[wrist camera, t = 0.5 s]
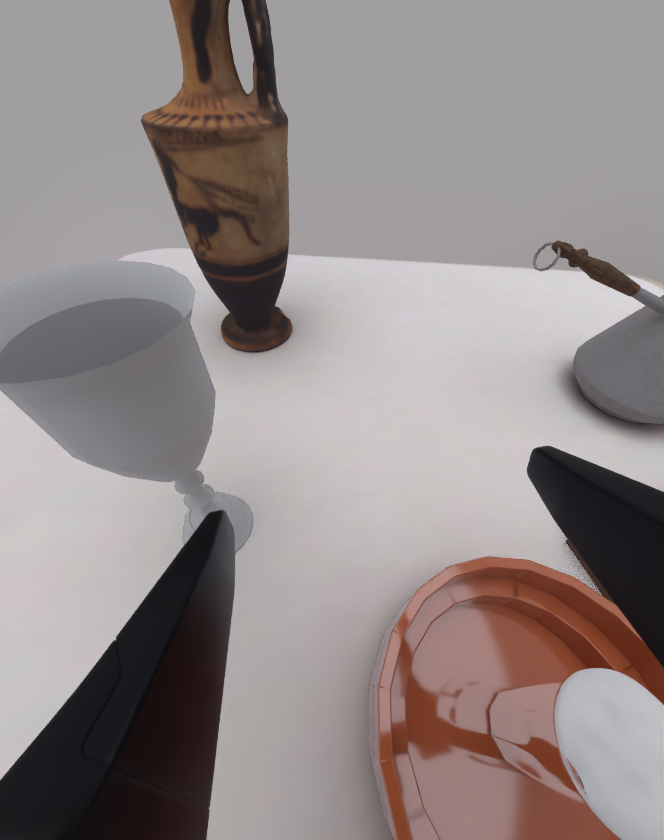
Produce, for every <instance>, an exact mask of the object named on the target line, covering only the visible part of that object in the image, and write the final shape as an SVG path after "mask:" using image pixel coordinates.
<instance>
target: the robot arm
mask: <svg viewBox="0 0 664 840" xmlns="http://www.w3.org/2000/svg"><path fill="white" fill-rule="evenodd" d="M527 474H528V476H529V478H530V480H531V482H532V483H533V485H534V487H535V488H536V490H537V492H538V493H539V495H540V497H541V499H542V500H543V502H544V504H545V505H546V507H547V509H548V510H549V512H550V514H551V515H552V517H553V519H554V520H555V522H556V523H557V525H558V526H559V527H560V529H561V530H562V532H563V533H564V534H565V536H566V537H567V538H568V540H569V541H570V543H571V544H572V545H573V547H574V548H575V549H576V551H577V552H578V553H579V555H580V556H581V558H582V559H583V560H584V562H585V563H586V564H587V566H588V567H589V568H590V570H591V571H592V572H593V574H594V575H595V577H596V578H597V579H598V581H599V582H600V583H601V585H602V586H603V587H604V589H605V590H606V592H607V593H608V594H609V596H610V597H611V598H612V600H613V601H614V602H615V604H616V605H617V606H618V608H619V609H620V611H621V612H622V613H623V615H624V616H625V617H626V619H627V620H628V621H629V623H630V624H631V626H632V627H633V628H634V630H635V631H636V632H637V634H638V635H639V636H640V638H641V639H642V640H643V642H644V643H645V645H646V646H647V647H648V649H649V650H650V651H651V653H652V654H653V655H654V657H655V658H656V660H657V661H658V662H659V664H660V665H661V666H662V668H663V669H664V492H662V491H660V490H657V489H655V488H652V487H650V486H647V485H645V484H643V483H640V482H638V481H635V480H633V479H630V478H628V477H625V476H623V475H620V474H618V473H615V472H613V471H610V470H608V469H605V468H603V467H601V466H598V465H596V464H593V463H591V462H588V461H586V460H583V459H581V458H578V457H576V456H573V455H571V454H568V453H566V452H563V451H561V450H559V449H556V448H554V447H551V446H543V447H538V448H535V449H533V451H532V453H531V456H530V460H529V463H528V467H527ZM234 587H235V533H234V528H233V526H232V524H231V522H230V519H229V517H228V515H227V513H226V511H225V510H217V511H212V512H209V513H208V514H207V515H206V517H205V518H204V519H203V521H202V522H201V523H200V525H199V526H198V527H197V529H196V530H195V532H194V533H193V534H192V536H191V537H190V538H189V540H188V541H187V542H186V544H185V545H184V546H183V548H182V549H181V550H180V552H179V553H178V554H177V556H176V557H175V559H174V560H173V561H172V563H171V564H170V565H169V567H168V568H167V569H166V571H165V572H164V573H163V575H162V576H161V577H160V579H159V580H158V581H157V583H156V584H155V585H154V587H153V588H152V590H151V591H150V592H149V594H148V595H147V596H146V598H145V599H144V600H143V602H142V603H141V604H140V606H139V607H138V608H137V610H136V611H135V612H134V614H133V615H132V616H131V618H130V619H129V621H128V622H127V623H126V625H125V626H124V627H123V629H122V630H121V631H120V633H119V634H118V635H117V637H116V640H114V641H113V642H112V643H111V645H110V646H109V647H108V649H107V650H106V651H105V653H104V654H103V655H102V657H101V658H100V659H99V661H98V662H97V663H96V665H95V666H94V667H93V669H92V670H91V671H90V672H89V674H88V675H87V676H86V678H85V679H84V680H83V682H82V683H81V684H80V685H79V687H78V688H77V689H76V690H75V692H74V693H73V694H72V695H71V696H70V698H69V699H68V700H67V701H66V703H65V704H64V705H63V706H62V707H61V709H60V710H59V711H58V712H57V714H56V715H55V716H54V717H53V718H52V720H51V721H50V722H49V723H48V724H47V725H46V727H45V728H44V729H43V730H42V731H41V733H40V734H39V735H38V736H37V737H36V738H35V740H34V741H33V742H32V743H31V744H30V746H29V747H28V748H27V749H26V750H25V752H24V753H23V754H22V755H21V756H20V757H19V759H18V760H17V761H16V762H15V763H14V765H13V766H12V767H11V768H10V769H9V771H8V772H7V773H6V774H5V775H4V776H3V778H2V779H1V780H0V840H206V837H207V828H208V820H209V809H208V808H209V807H210V800H211V792H212V783H213V774H214V765H215V757H216V748H217V739H218V731H219V722H220V713H221V704H222V696H223V687H224V678H225V669H226V661H227V652H228V643H229V634H230V626H231V617H232V608H233V599H234Z"/></svg>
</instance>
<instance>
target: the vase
mask: <svg viewBox="0 0 664 840" xmlns="http://www.w3.org/2000/svg"><path fill="white" fill-rule="evenodd" d="M169 1H170V5H171V9H172V13H173V17H174V21H175V24H176V29H177V34H178V39H179V44H180V48H181V55H182V61H183V84H182V88H181V90H180V91H179V93H178V94H177V95H176V97H174V98H173V99H172V100H171V101H170V102H169V103H168V104H167V105H165V106H163V107H161V108H159V109H156V110H153V111H150V112H148V113H146V114H144V115H143V116H142V119H141V121H142V125H143V127H144V129H145V132H146V134H147V136H148V139H149V141H150V143H151V146H152V148H153V150H154V152H155V155H156V157H157V160H158V163H159V166H160V168H161V171H162V173H163V176H164V179H165V182H166V184H167V187H168V189H169V193H170V195H171V198H172V200H173V203H174V206H175V208H176V211H177V214H178V216H179V219H180V222H181V224H182V227H183V230H184V232H185V235H186V238H187V240H188V243H189V245H190V247H191V250H192V252H193V254H194V256H195V259H196V261H197V263H198V265H199V267H200V269H201V270H202V272H203V275H204V276H205V278H206V280H207V282H208V283H209V285H210V286H211V288H212V289H213V290H214V292H215V293H216V295H217V296H218V297H219V299H220V300H221V301H222V303H223V304H224V305H225V306H226V308H227V309H228V310H229V312H230V313H229V314H228V315H227V316H226V317H225V318H224V320H223V322H222V325H221V332H222V337H223V339H224V340H225V341H226V342H227V343H229V344H230V345H231V346H232V347H234V348H236V349H239V350H242V351H250V352H254V351H264V350H268V349H271V348H273V347H275V346H278V345H280V344H281V343H283V342H284V341H285V340H286V339H287V338H288V337H289V336H290V333H291V331H292V324H291V321H290V319H289V318H287V317H286V316H285V315H284V313H283V312H282V311H281V309H280V308H278V307H276V306H275V303H276V300H277V298H278V295H279V292H280V289H281V286H282V283H283V279H284V276H285V271H286V265H287V257H288V244H289V196H288V195H289V189H288V163H287V139H288V118H287V115H286V114H285V112H284V110H283V109H282V107H281V105H280V102H279V100H278V95H277V88H276V76H275V67H274V52H273V44H272V38H271V27H270V20H269V15H268V9H267V5H266V0H242V3H243V7H244V13H245V17H246V21H247V26H248V31H249V35H250V40H251V44H252V49H253V55H254V63H253V83H254V84H253V85H254V87H253V90H252V92H251V93H250V94H246V93H245V91H244V89H243V87H242V85H241V82H240V80H239V77H238V74H237V71H236V67H235V64H234V60H233V54H232V49H231V43H230V36H229V25H228V7H229V2H230V0H169Z"/></svg>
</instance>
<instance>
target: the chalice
mask: <svg viewBox="0 0 664 840" xmlns="http://www.w3.org/2000/svg"><path fill="white" fill-rule="evenodd" d="M194 296H195V290H194V288H193V286H192V285H191V283H190V281H189V280H188V278H187V277H186V276H184V275H182V274H180V273H178V272H177V271H175V270H173V269H171V268H169V267H164V266H160V265H156V264H151V263H147V262H128V261H112V262H99V263H87V264H82V265H77V266H71V267H65V268H60V269H54V270H51V271H48V272H44V273H41V274H37V275H34V276H31V277H27V278H24V279H20V280H18V281H16V282H13V283H11V284H9V285H6V286H4V287H2V288H0V390H1V391H2V392H3V393H4V394H5V395H6V396H7V397H9V398H10V399H11V400H12V401H13V402H14V403H15V404H16V405H17V406H18V407H19V408H20V409H22V410H23V411H24V412H25V413H26V414H27V415H28V416H29V417H30V418H31V419H32V420H33V421H35V422H36V423H37V424H38V425H39V426H40V427H41V428H42V429H43V430H44V431H45V432H46V433H48V434H49V435H50V436H51V437H52V438H53V439H54V440H55V441H56V442H57V443H58V444H59V445H61V446H62V447H63V448H64V449H65V450H66V451H67V452H68V453H69V454H70V455H71V456H72V457H74V458H76V459H79V460H81V461H83V462H86V463H88V464H90V465H93V466H96V467H99V468H102V469H105V470H108V471H110V472H113V473H116V474H119V475H122V476H126V477H133V478H139V479H146V480H153V481H159V482H172V481H176V482H175V489H176V490H177V491H178V492H179V493H182V494H185V497H184V502H185V505H186V506H187V507H188V508H189V509H188V512H187V514H186V517H185V522H184V529H183V540H184V544H186V542H187V541H188V540H189V538H190V537H191V536H192V534H193V533H194V532H195V530H196V529H197V527H198V526H199V525H200V523H201V522H202V521H203V519H204V518H205V517H206V515H207V514H208V513H209V512H212V511H217V510H225V511H226V513H227V515H228V517H229V519H230V522H231V524H232V526H233V528H234V533H235V552H236V551H237V550H238V549H239V548H241V547H242V546H243V545H244V543H245V542H246V540H247V538H248V537H249V535H250V532H251V529H252V525H253V521H252V513H251V511H250V508H249V506H248V505H247V504H246V503H245V502H244V501H243V500H242V499H239V498H237V497H235V496H231V495H229V494H225V493H219V492H216V493H214V491H213V488H212V487H211V486H209V485H207V484H203V482H204V476H203V474H202V473H201V472H200V471H197V470H195V469H196V468H197V467H198V466H199V465H200V463H201V460H202V458H203V455H204V453H205V450H206V447H207V444H208V441H209V438H210V436H211V433H212V425H213V416H214V408H215V390H214V387H213V384H212V381H211V379H210V376H209V373H208V371H207V368H206V365H205V362H204V360H203V357H202V354H201V352H200V349H199V346H198V343H197V341H196V338H195V335H194V333H193V330H192V327H191V324H190V318H191V313H192V308H193V302H194Z"/></svg>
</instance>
